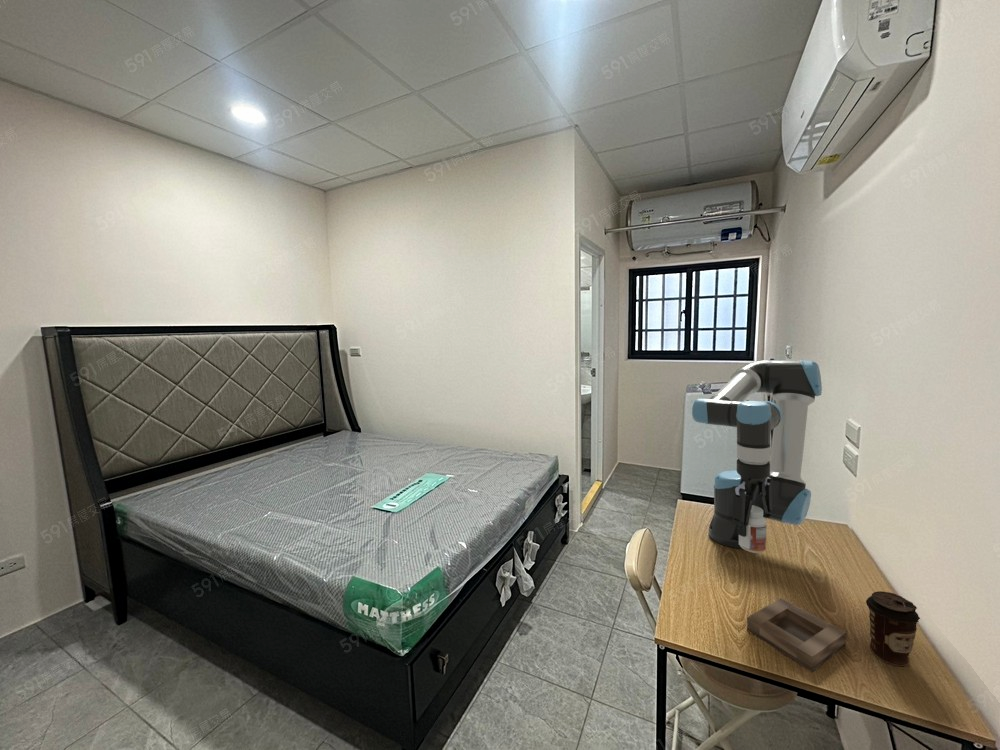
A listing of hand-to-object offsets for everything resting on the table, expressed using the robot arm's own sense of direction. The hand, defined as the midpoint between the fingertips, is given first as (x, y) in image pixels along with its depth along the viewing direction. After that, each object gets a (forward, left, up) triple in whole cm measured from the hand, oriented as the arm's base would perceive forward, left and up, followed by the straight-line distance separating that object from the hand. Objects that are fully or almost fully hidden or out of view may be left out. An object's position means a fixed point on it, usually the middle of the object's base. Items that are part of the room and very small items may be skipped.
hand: (752, 542), depth 110 cm
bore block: (+6, +14, -16) cm, 22 cm away
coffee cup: (-6, +27, -16) cm, 32 cm away
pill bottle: (0, 0, -2) cm, 2 cm away
